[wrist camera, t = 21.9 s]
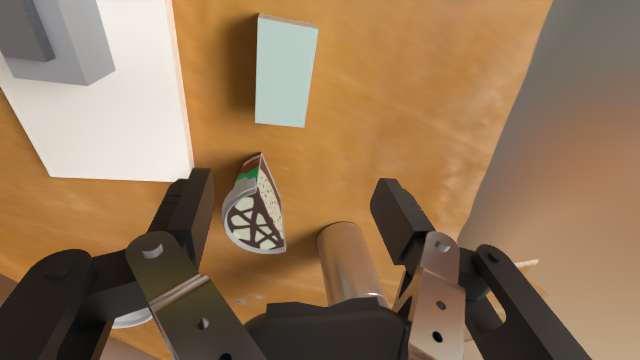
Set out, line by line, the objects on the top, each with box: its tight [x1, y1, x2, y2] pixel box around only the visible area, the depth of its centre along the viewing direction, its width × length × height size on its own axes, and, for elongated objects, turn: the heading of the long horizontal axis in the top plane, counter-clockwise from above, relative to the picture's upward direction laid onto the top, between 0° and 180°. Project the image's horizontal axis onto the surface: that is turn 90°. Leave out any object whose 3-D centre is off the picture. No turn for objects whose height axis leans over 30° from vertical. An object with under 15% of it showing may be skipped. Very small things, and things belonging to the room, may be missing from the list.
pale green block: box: [255, 13, 319, 127], centre depth 28 cm, size 10×6×5 cm, turn 170°
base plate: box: [0, 0, 195, 182], centre depth 25 cm, size 24×16×7 cm, turn 170°
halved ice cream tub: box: [222, 152, 286, 254], centre depth 35 cm, size 12×6×10 cm, turn 12°
